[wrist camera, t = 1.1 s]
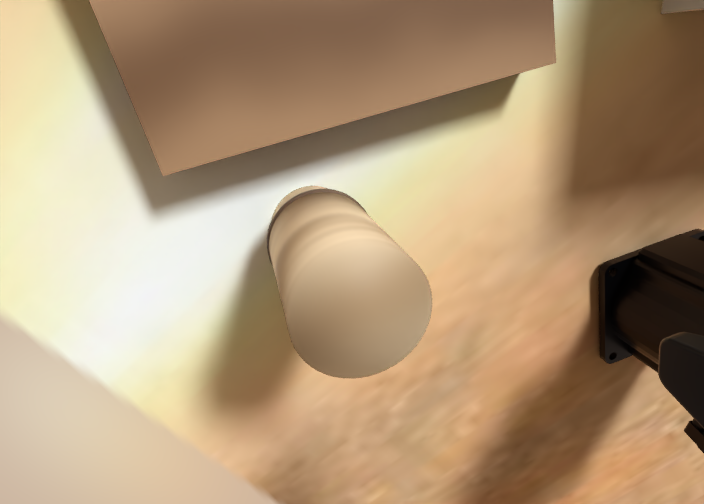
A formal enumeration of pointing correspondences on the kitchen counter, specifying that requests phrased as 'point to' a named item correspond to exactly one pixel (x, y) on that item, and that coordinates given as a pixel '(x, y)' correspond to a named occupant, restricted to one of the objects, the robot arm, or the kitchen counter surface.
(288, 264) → the peg
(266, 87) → the board
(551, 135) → the kitchen counter surface
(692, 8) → the icon cube
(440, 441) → the kitchen counter surface
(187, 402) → the kitchen counter surface
